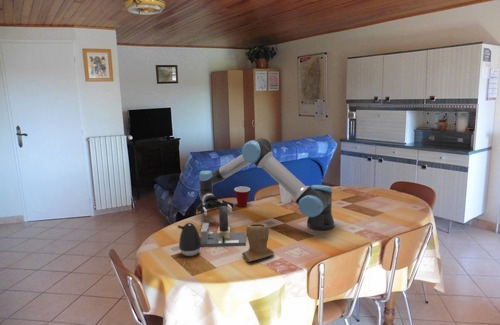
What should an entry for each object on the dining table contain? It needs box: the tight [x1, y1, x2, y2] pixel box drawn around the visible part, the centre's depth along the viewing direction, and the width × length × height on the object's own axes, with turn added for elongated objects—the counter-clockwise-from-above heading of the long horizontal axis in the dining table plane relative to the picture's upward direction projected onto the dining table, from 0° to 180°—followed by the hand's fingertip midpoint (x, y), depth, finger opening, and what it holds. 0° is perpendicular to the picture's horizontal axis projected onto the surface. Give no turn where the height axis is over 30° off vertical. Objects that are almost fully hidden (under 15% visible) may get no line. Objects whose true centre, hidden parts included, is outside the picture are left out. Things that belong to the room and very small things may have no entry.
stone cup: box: [241, 223, 275, 263], centre depth 171 cm, size 15×12×15 cm
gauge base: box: [200, 222, 247, 248], centre depth 191 cm, size 22×14×8 cm, turn 91°
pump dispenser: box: [177, 222, 201, 257], centre depth 175 cm, size 10×10×15 cm
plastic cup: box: [233, 186, 251, 208], centre depth 249 cm, size 11×11×12 cm
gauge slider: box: [217, 206, 231, 243], centre depth 188 cm, size 6×12×16 cm, turn 1°
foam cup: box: [278, 183, 293, 204], centre depth 256 cm, size 10×9×13 cm
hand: (218, 211), depth 198 cm, fingers open, 13 cm apart
